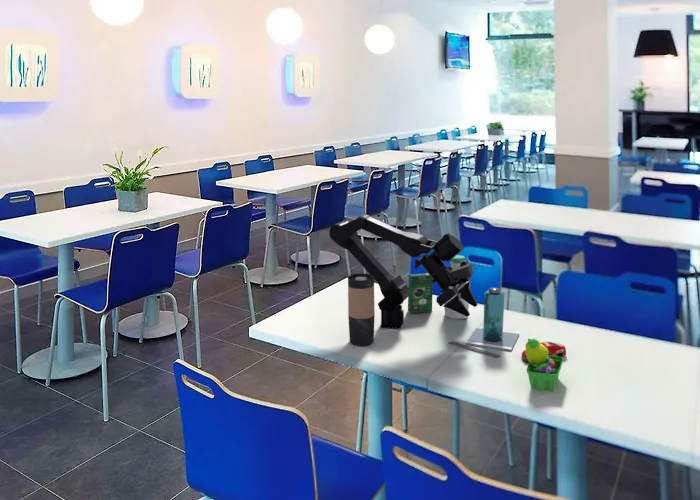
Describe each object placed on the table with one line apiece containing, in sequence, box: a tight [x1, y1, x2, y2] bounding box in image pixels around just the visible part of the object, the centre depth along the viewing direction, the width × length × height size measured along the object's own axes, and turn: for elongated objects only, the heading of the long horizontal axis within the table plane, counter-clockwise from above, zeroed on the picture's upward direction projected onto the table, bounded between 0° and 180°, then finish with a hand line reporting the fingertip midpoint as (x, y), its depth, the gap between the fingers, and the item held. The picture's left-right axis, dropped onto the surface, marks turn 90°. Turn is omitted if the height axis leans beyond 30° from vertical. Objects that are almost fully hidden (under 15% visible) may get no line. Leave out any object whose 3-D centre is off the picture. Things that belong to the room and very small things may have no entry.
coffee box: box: [407, 272, 434, 314], centre depth 204 cm, size 8×3×13 cm, turn 107°
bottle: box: [482, 287, 505, 342], centre depth 179 cm, size 6×6×15 cm
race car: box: [521, 341, 567, 363], centre depth 168 cm, size 13×5×4 cm, turn 111°
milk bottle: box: [444, 254, 470, 320], centre depth 199 cm, size 8×8×20 cm
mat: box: [465, 327, 520, 352], centre depth 181 cm, size 13×13×1 cm
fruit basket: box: [525, 338, 565, 392], centre depth 153 cm, size 11×9×11 cm
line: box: [448, 340, 501, 359], centre depth 174 cm, size 16×2×1 cm, turn 47°
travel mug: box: [347, 273, 376, 348], centre depth 179 cm, size 8×8×20 cm
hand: (472, 310), depth 182 cm, fingers open, 9 cm apart
